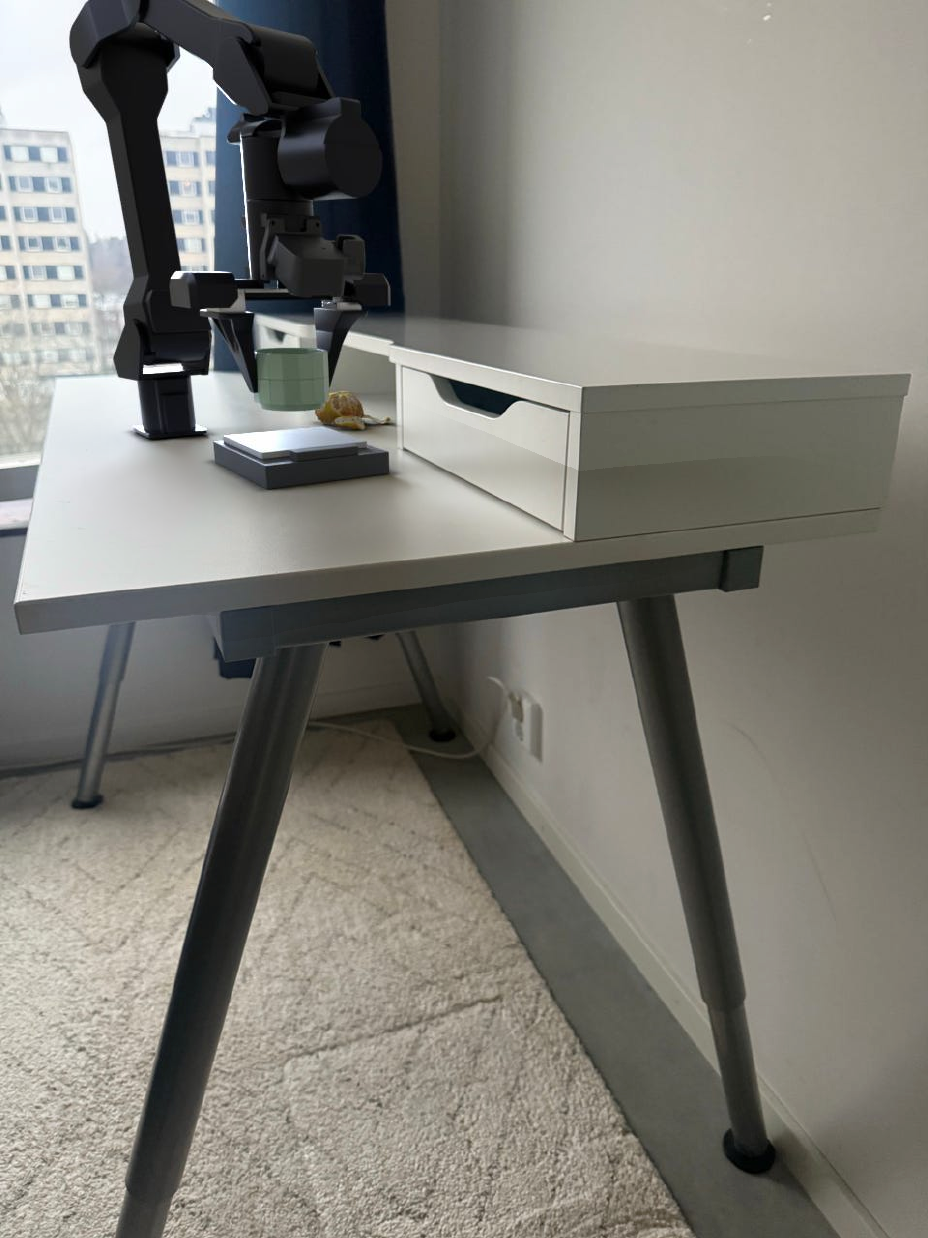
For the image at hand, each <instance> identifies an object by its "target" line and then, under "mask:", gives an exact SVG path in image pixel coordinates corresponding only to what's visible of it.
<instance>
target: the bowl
mask: <svg viewBox="0 0 928 1238" xmlns="http://www.w3.org/2000/svg"><path fill="white" fill-rule="evenodd" d="M254 350H255V358H256V365H257V372H258V392H257V393H253V399H254V400H253V401H254V402H255V403H258V404H259V407H260V409H262V410H265V411H270V412H283V413H284V412H288V413H290V412H292V413H295V412H308V411H309V412H310V411H315V410H318V409H322V408H324V407H325V402H328V401H329V400H330V398H329V393H330V388H329V377H328V376H329V374H328V352H327V350H323V349H317V348H312V347H311V348H310V347H267V348H257V349H254Z"/></svg>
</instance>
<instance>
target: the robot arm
mask: <svg viewBox="0 0 928 1238" xmlns="http://www.w3.org/2000/svg"><path fill="white" fill-rule="evenodd" d="M68 43H69V45H68V46H69V51H70V56H71V58H72V60H73V63H74V64H75V66H76V70H77V74H78V78H79V81H80V85H81V89H82V92H83V94H84V95H85V97H86V99H88V101H89V102H90V103H91V105H92V106H93V107H94V109H95V111H96V112H97V113H98V114H99V116H100V118H101V119H102V120H103V121H104V123H105V126H106V131H107V137H108V143H109V148H110V153H111V154H110V155H111V159H112V165H113V171H114V177H115V181H116V187H117V192H118V198H119V204H120V209H121V214H122V219H123V220H122V221H123V226H124V231H125V236H126V242H127V248H128V254H129V258H130V265H131V269H132V276H133V278H132V282H131V283H130V287H129V289H128V292H127V294H126V296H125V299H124V301H123V303H122V312H123V320H124V325H123V329H122V331H121V333H120V335H119V338H118V339H119V340H118V342H117V345H116V347H115V350H114V354H113V358H112V361H113V364H114V368H115V371H116V375H117V377H118V379H123V380H124V379H125V380H129V381H133V382H136V384H137V385H136V386H137V391H138V399H139V408H140V415H141V423H142V425H133V431H134V432H136V433H138V434H140V435H142V436H143V437H145V438H147V439H151V440H153V439H161V438H164V439H165V438H171V437H184V436H196V435H205V434H208V430H207V428H205V427H203V426H200V425H199V424H197V421H196V412H195V411H196V410H195V402H194V393H193V392H194V391H193V383H192V377H193V376H202V377H203V376H209V373H210V362H211V352H212V342H213V335H212V330H213V328H212V325H211V322H210V319H211V320H212V322H213V324H214V325H215V327H216V328H217V330H218V332H219V333H220V335H221V337H222V338H223V340H224V342H225V343H226V344H227V347H228V349H229V351H230V353H231V355H232V357H233V359H234V361H235V363H236V365H237V367H238V370H239V371H240V374H241V376H242V378H243V380H244V382H245V385H246V386H247V389H248V390H249V392H250V393H252V394H254V393H257V392H258V372H257V365H256V358H255V350H256V349H255V346H254V337H253V327H254V323H255V317H256V313H255V312H252V311H247V306H246V302H255V301H256V302H260V301H261V302H263V301H265V302H266V301H271V302H272V301H273V302H274V301H321V307H313V315H314V329H315V342H316V349H323V350H327V352H328V374H329V376H328V377H329V389H330V388H331V386H332V382H333V379H334V375H335V372H336V369H337V365H338V362H339V359H340V355H341V352H342V349H343V346H344V343H345V342H346V341H345V340H346V339H347V336H348V333H349V331H350V330H351V329H352V327H353V326H354V324H355V323H356V322H357V321H358V319H359V318H361V317H363V318H364V317H367V316H368V315H369V310H368V309H367V310H366V309H362V307H391V302H392V301H391V286H390V283H389V281H388V279H387V278H386V277H385V275H384V273H374V272H373V273H372V272H371V273H370V272H369V273H367V272H365V270H366V250H365V240H364V239H362V238H361V237H360V236H359V235H357V234H338V235H336V237H335V240H328V239H325V237H324V234H323V224H322V222H321V215H314V204H313V203H314V201H329V200H330V201H331V200H344V199H345V200H347V199H359V198H364V197H366V196H368V195H369V194H371V193H372V192H373V191H374V190H375V188H376V186H377V185H378V184H379V181H380V177H381V175H382V169H383V152H382V151H381V150H380V147H379V142H378V140H377V138H376V137H377V136H376V135H375V133H374V131H373V130H372V128H371V127H370V125H369V124H368V123H367V122H366V121H365V120H364V119H363V118H362V115H361V114H362V113H361V112H362V111H361V101H359V100H358V99H352V98H347V97H341V96H337V97H336V95H335V93H334V91H333V89H332V87H331V85H330V82H329V81H328V79H327V76H326V74H325V72H324V70H323V69H322V67H321V64H320V62H319V61H318V59H317V55H318V51H317V49H316V46H315V45H314V43H313V42H312V41H311V40H310V39H309V38H308V37H305V36H304V35H299V34H296V33H295V34H294V33H291V32H286V31H282V30H278V29H273V28H269V27H265V26H260V25H256V24H252V23H248V22H245V21H244V20H242V19H240V18H239V17H237V16H236V15H233V14H231V13H230V12H229V11H226V10H225V9H223V8H221V7H220V6H218V5H216V4H214V3H213V2H212V1H210V0H87V1H86V2H84V5H83V7H82V8H81V10H80V11H79V13H78V14H77V16H76V18H75V20H74V21H73V23H72V24H71V27H70V30H69V37H68ZM181 49H182V50H184V51H185V52H187V53H189V54H190V55H193V56H194V57H195V58H197V59H198V60H200V61H201V62H203V63H205V64H206V65H207V66H208V68H210V69H211V70H212V81H213V83H214V84H215V85H216V86H217V87H218V89H219V90H220V91H221V92H222V93H223V94H224V95H225V96H226V97H227V98H228V99H229V100H230V102H231V103H232V104H234V105H235V106H237V107H240V108H245V109H246V110H247V111H248V112H241V113H240V116H239V119H238V120H237V122H236V123H235V124H234V125H233V126H232V127H231V128H230V129H229V131H228V133H227V136H226V141H227V143H228V144H229V145H236V146H240V154H241V155H240V156H241V168H242V169H241V170H242V181H243V182H242V183H243V196H244V206H245V208H244V209H245V215H240V222H241V229H243V230H244V229H246V234H247V235H246V236H247V247H248V262H249V266H244V274H245V279H243V278H241V279H239V278H235V275H234V272H233V271H196V270H195V271H191V270H189V271H187V270H186V271H185V270H184V271H183V270H182V265H181V258H180V251H179V246H178V240H177V239H178V238H177V233H176V228H175V221H174V216H173V210H172V204H171V198H170V192H169V185H168V179H167V173H166V167H165V166H166V165H165V160H164V154H163V149H162V142H161V136H160V131H159V124H158V123H159V122H158V120H159V116H160V114H161V111H162V109H163V106H164V104H165V101H166V99H167V96H168V94H169V78H168V77H169V76H168V74H169V73H170V71H171V70H172V69H173V68H174V66H175V65H176V63H178V62H179V60H180V58H181ZM266 118H267V119H266ZM271 281H276V286H277V287H265V285H266V284H267V285H270V284H271ZM209 318H210V319H209ZM165 365H167V366H165ZM168 365H177V366H168ZM145 366H147V367H151V368H144V367H145ZM152 366H165V367H152Z"/></svg>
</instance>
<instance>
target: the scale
mask: <svg viewBox="0 0 928 1238" xmlns="http://www.w3.org/2000/svg"><path fill="white" fill-rule="evenodd" d="M212 444H213V445H212V446H213V455H214V462H215V463H216V464H218V465H220V466H221V467H223V468H225V469H227V470H230V471H232V472H233V473H235V474H237V475H240V476H241V477H243V478H245V479H247V480H249V481H250V482H253V483H255V484H256V485H258V486H260V487H262V488H263V489H266V490H273V489H280V488H288V487H295V486H296V487H297V486H302V485H303V486H304V485H310V484H311V485H312V484H319V483H324V482H333V481H334V482H335V481H341V480H348V479H355V478H363V477H371V476H379V475H386V474H390V451H387V450H384V449H381V448H379V447H376V446H373V445H370V444H368V441H367V440H364V439H361V438H358V437H355V436H353V435H349V434H346V433H343V432H340V431H337V430H333V429H331V428H328V427H325V426H324V425H323V426H311V427H310V426H309V427H299V428H289V429H279V430H278V429H277V430H269V431H259V432H258V431H256V432H245V433H236V434H227V435H226V434H225V435H223V436H222V440H214V441H212Z"/></svg>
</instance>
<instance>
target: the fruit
mask: <svg viewBox="0 0 928 1238" xmlns="http://www.w3.org/2000/svg"><path fill="white" fill-rule="evenodd" d="M329 398H330V400H329V401H328V402H325V407H324V408H322V409H318V410H314V414H315V416H316V417H317V420H318V421H320V423H321V424H322V425H323V426H325V425H331V426H333V423H334V422H335V425H337V426H338V427H347V428H349V429H351V430H363V431H364V430H365V428H366V427H365V419H369V420H372V421H374V422H375V423H377V424H380V425H383V424H385V423H389V422H390V421H391V420H392V418H390V417H389V416H387V417H386V418H378V417H374V416H371V415H370V414H365V411H364V408H363V404H362V403H361V401H360V400H359V399H358V398H357V397H356V395H355V394H354V393H353V392H352V391H347V390H340V391H335V392H329Z"/></svg>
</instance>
